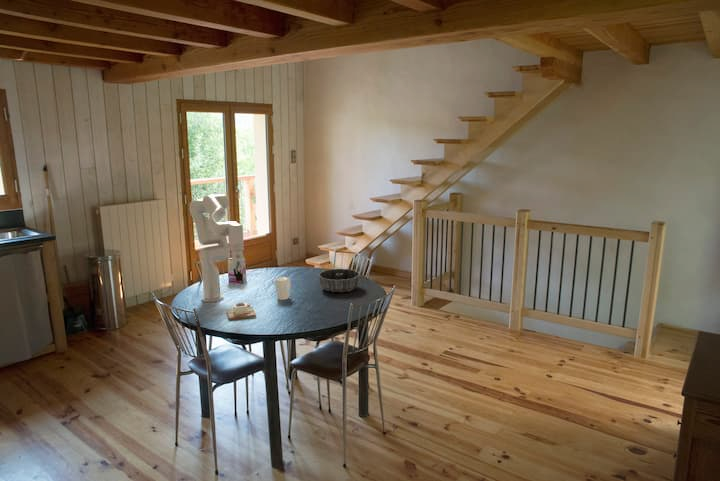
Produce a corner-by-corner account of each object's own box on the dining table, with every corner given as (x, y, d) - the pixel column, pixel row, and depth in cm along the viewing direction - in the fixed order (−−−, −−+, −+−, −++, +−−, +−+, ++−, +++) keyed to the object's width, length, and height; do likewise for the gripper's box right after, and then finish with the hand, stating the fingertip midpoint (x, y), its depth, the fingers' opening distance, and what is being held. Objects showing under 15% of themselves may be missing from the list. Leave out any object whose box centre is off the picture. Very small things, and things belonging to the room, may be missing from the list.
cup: (276, 301, 293) (275, 281, 291) (275, 296, 302) (274, 277, 299) (291, 299, 295) (290, 280, 292) (290, 295, 303) (289, 276, 301)
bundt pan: (360, 295, 302) (359, 279, 300) (316, 295, 303) (316, 279, 301) (360, 283, 328) (360, 268, 326) (320, 283, 329) (320, 268, 327)
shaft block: (226, 312, 274) (226, 301, 273) (252, 309, 279) (251, 298, 277) (229, 320, 261) (228, 308, 260) (256, 317, 266) (255, 305, 264)
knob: (235, 314, 266) (234, 307, 265) (234, 311, 272) (233, 304, 271) (251, 312, 268) (250, 305, 268) (249, 308, 274) (249, 301, 273)
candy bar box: (247, 281, 334) (245, 258, 331) (243, 283, 330) (241, 259, 326) (232, 280, 338) (230, 257, 334) (228, 282, 333) (226, 258, 330)
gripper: (245, 249, 256) (247, 281, 259) (241, 243, 272) (243, 273, 275) (230, 251, 254) (232, 283, 257) (227, 244, 270) (229, 275, 273)
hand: (238, 278), depth 266 cm, fingers open, 9 cm apart
